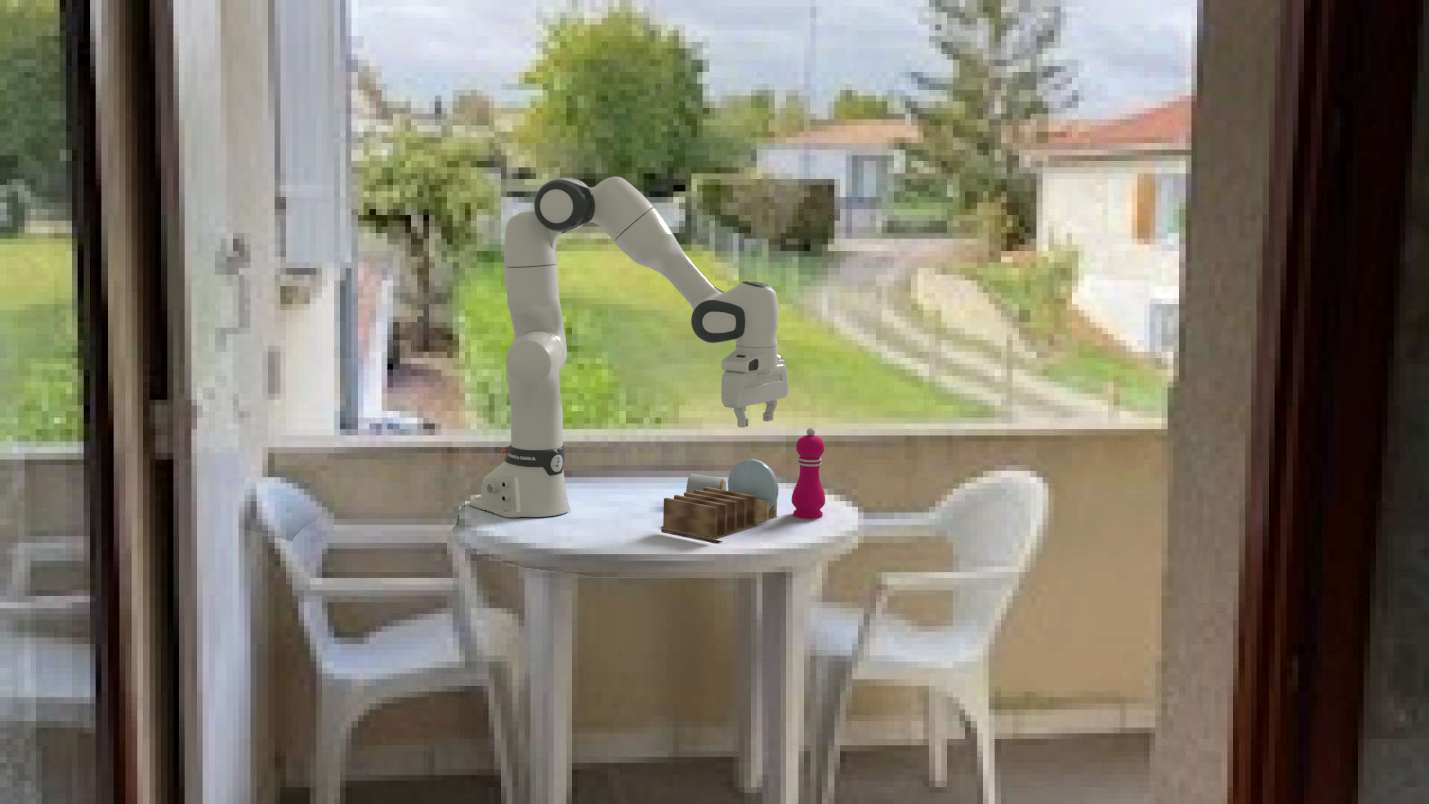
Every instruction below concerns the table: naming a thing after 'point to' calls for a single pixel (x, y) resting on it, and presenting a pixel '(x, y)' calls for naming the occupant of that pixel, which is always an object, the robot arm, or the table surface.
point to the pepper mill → (809, 478)
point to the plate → (754, 481)
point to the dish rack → (709, 514)
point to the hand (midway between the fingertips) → (755, 423)
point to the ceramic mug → (704, 483)
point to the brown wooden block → (765, 511)
